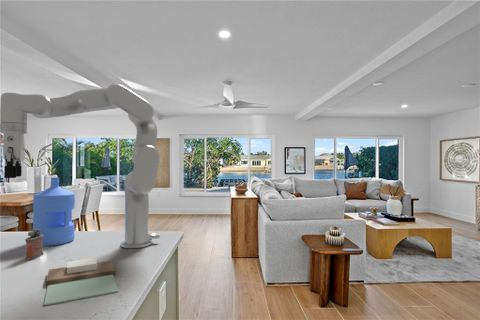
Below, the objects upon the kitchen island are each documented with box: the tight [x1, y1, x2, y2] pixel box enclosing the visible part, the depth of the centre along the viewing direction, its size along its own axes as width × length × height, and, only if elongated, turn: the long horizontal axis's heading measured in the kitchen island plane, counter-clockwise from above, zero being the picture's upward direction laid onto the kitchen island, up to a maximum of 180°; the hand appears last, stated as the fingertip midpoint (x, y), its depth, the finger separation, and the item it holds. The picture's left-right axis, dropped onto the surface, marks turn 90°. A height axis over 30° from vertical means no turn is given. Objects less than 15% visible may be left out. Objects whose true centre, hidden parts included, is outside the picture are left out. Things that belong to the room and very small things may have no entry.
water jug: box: [32, 177, 76, 247], centre depth 130 cm, size 16×16×28 cm
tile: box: [66, 257, 97, 274], centre depth 94 cm, size 8×6×2 cm
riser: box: [45, 260, 116, 287], centre depth 92 cm, size 18×10×2 cm, turn 119°
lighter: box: [25, 229, 44, 262], centre depth 109 cm, size 8×3×10 cm, turn 5°
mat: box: [43, 274, 119, 307], centre depth 82 cm, size 17×13×1 cm
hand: (13, 177), depth 104 cm, fingers open, 9 cm apart
